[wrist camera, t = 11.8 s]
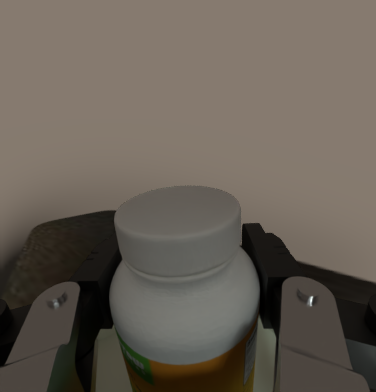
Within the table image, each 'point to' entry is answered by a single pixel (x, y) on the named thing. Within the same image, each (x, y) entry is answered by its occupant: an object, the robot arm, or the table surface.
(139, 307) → the supplement bottle
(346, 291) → the table surface
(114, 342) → the sage tray
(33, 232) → the table surface
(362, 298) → the table surface
